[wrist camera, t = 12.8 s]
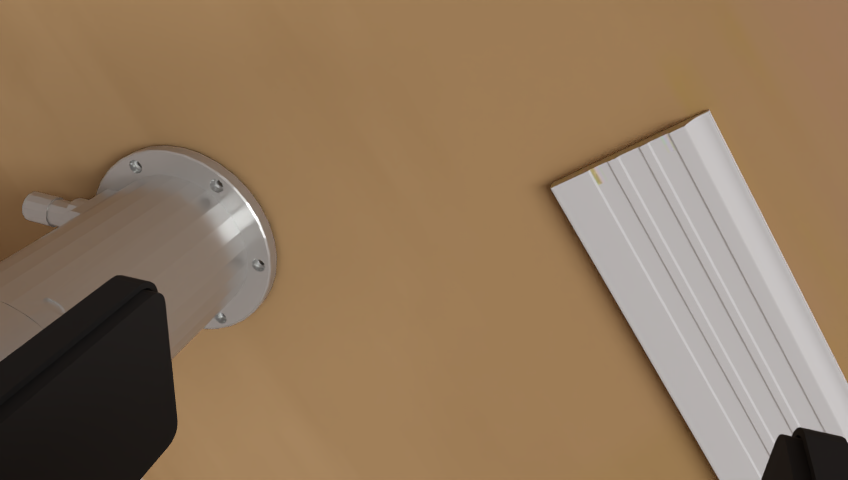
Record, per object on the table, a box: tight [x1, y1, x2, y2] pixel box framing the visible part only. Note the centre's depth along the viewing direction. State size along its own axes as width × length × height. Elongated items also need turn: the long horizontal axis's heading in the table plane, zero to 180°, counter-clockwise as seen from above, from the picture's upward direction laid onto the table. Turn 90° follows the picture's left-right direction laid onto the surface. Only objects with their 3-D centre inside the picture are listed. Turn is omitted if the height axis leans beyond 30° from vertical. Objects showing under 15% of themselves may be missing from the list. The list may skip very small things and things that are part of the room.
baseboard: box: [550, 109, 848, 480], centre depth 41 cm, size 30×3×10 cm
